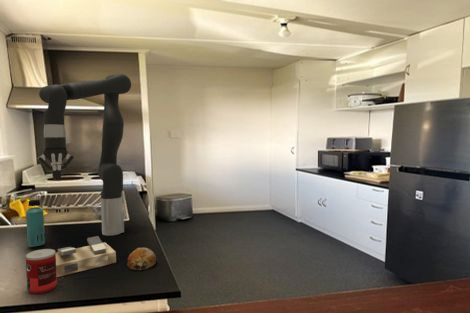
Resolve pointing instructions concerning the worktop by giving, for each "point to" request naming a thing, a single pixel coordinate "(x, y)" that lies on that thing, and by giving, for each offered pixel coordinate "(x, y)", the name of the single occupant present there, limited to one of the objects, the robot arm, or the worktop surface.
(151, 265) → the bread roll
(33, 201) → the beverage bottle
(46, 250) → the canned food
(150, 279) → the worktop surface
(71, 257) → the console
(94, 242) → the switch
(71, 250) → the switch
